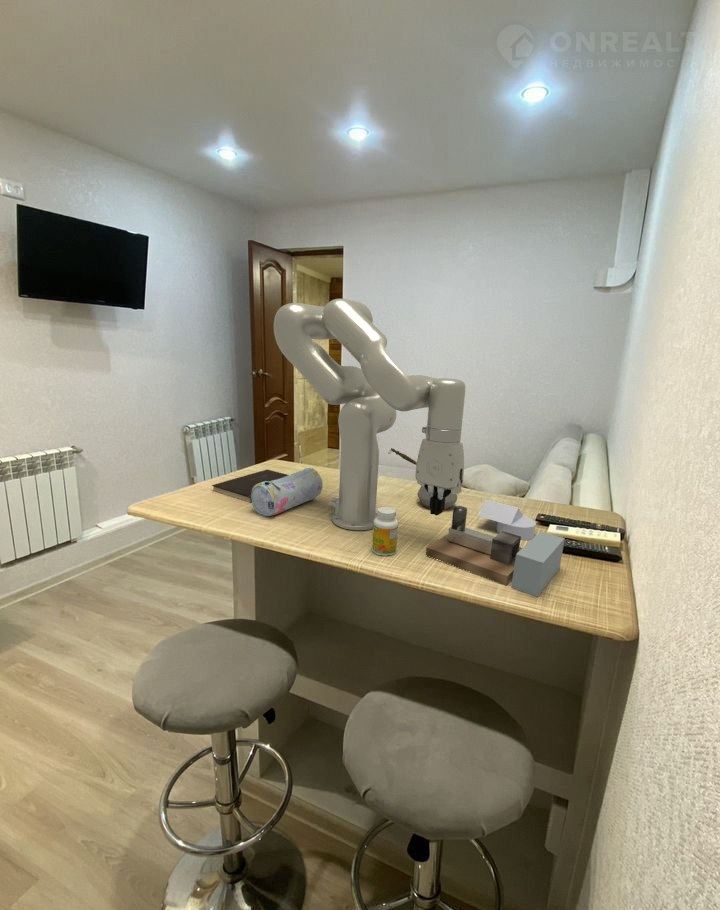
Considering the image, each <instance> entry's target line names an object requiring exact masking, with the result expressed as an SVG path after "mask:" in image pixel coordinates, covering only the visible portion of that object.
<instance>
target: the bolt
mask: <svg viewBox="0 0 720 910" xmlns="http://www.w3.org/2000/svg"><path fill="white" fill-rule="evenodd" d="M467 516H468V508H467V507H466V506H462V505H453V509H452V518H451V519H452V520H451V526H450V527H448V533H447V534H448V541H451V542H454V543H457V544H460V545H463V546H466V547H469V548H472V549H475V550H478V551H481V552H484V553H487V554H491V547H492V539H493V538H494V537H496V536H495V535H491V534H488V533H485V532H481V531H478V530H475V529H473V528H472V529H471V528H468V527H466V524H467V523H466V522H467Z"/></svg>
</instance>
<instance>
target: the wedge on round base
mask: <svg viewBox="0 0 720 910" xmlns="http://www.w3.org/2000/svg"><path fill="white" fill-rule="evenodd" d="M477 516H478V517H479V518H484V519H485V520H486V519H487V520H491V521H493V522H496V523H497V524H496V531H497V533H498V534H499V533H501V532H502V531H504V532H507V533H511V534H514V535H518V536H521V540H520V541H531V540H532V539H533V538H534V537H535V533H536V531H535V530H536V524H537V522H536V521H535V520H534V519H533V518H531V517H528V516H526V515H523V513H522V512H521V510H520V507H517V506H515V505H514V506H513V505H511V504H510V505H509V504H505V503H502V502H497V501H493V500H490V499H487V498H486V499H485V501H484V502H483V505H482V506H481V509H480V510H479V512H478V514H477Z"/></svg>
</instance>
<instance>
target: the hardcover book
mask: <svg viewBox="0 0 720 910" xmlns="http://www.w3.org/2000/svg"><path fill="white" fill-rule="evenodd" d="M288 475H289V474H287V473H282V472H279V471H275V470H270V469H267V468H266V469H264V470H260V471H257V472H254V473H253V472H252V473H249V474H246V475H243V476H239V477H236V478H232V479H228V480H225V481H223V482H218V483H214V484H212V485H211V487H213V488H212V489H213V492H216V493H219V494H223V495H225V496H229V497H232V498H235V499H238V500H241V501H244V502H247V503H250V504H252V498H251V493H252V488H253V487H254V486H255V485H256V484H258V483H261V482H264V481H273V480H276V479H280V478H283V477H286V476H288Z"/></svg>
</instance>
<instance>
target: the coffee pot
mask: <svg viewBox="0 0 720 910" xmlns="http://www.w3.org/2000/svg"><path fill="white" fill-rule="evenodd" d="M391 453H395V454H396V455H398V456H399V457H401V459H404V460H406V461H407V462H409V463H411V464H413V465H416V466H417V461H416V460H414V459H413V458H411V457H409V455H406V454H404V453H402V452H400V451H399V450H395V449H394V448H392V447H391V448H390V449H389V451H388V454H387V455H390V454H391ZM438 488H439V487H438ZM417 497H418V500H419V501H420V503H422V504H423V506H424V507H426V508H429V509H430V497H429V495H428V492H427V490H426V489H425V487H423V486H421V485H420V488H419V490H418V491H417ZM457 500H458V494H450V495H448V496H447V497H445V507H444V510H447V509H449V508H450V507H451V506H454V504H455V503H457Z"/></svg>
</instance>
